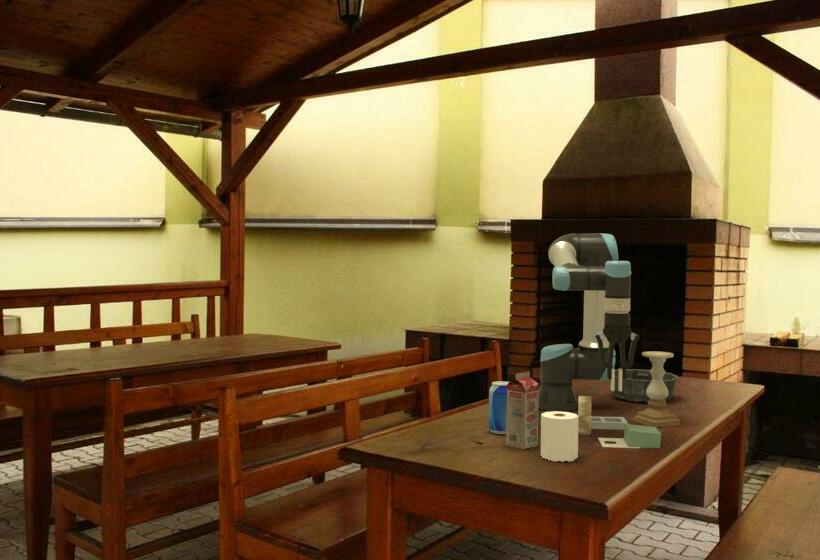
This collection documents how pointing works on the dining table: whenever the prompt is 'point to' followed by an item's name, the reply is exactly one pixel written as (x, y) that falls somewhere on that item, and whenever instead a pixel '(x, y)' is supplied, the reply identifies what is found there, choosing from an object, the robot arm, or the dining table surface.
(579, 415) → the peg
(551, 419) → the toilet paper
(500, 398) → the beer can
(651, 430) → the cover
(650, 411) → the candle holder
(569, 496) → the dining table surface
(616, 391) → the bundt pan
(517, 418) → the juice carton
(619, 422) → the grey double window frame
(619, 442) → the mat
